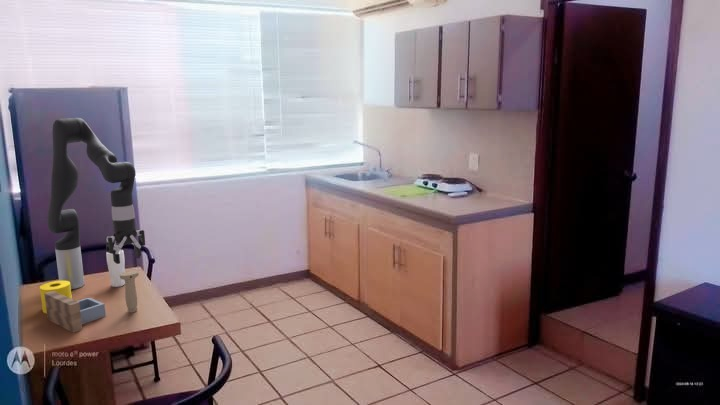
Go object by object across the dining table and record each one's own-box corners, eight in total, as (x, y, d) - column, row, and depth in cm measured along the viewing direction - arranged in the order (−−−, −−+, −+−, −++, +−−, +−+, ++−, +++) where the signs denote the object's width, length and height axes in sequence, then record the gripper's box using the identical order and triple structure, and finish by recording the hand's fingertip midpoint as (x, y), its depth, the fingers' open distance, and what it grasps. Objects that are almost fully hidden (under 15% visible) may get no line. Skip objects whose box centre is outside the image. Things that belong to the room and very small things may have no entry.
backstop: (47, 319, 189) (44, 293, 187) (56, 316, 192) (53, 290, 190) (73, 332, 178) (70, 305, 176) (82, 329, 181) (79, 302, 179)
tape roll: (43, 315, 192) (39, 291, 191) (42, 306, 201) (39, 283, 199) (73, 310, 198) (70, 286, 196) (72, 301, 206) (69, 278, 204)
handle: (121, 311, 196) (118, 273, 193) (139, 307, 200) (136, 269, 197) (125, 315, 192) (121, 276, 189) (143, 311, 196) (139, 273, 193)
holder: (60, 319, 190) (59, 306, 189) (90, 309, 198) (89, 297, 197) (75, 326, 184) (74, 313, 183) (105, 316, 192) (104, 303, 191)
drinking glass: (106, 286, 222) (102, 252, 219) (119, 281, 228) (116, 248, 225) (116, 289, 219) (113, 254, 216) (130, 284, 225) (127, 250, 222)
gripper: (136, 212, 197) (139, 254, 200) (98, 219, 185) (103, 263, 189) (147, 215, 192) (151, 257, 196) (110, 222, 181) (114, 267, 184)
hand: (127, 260), depth 192 cm, fingers open, 7 cm apart
